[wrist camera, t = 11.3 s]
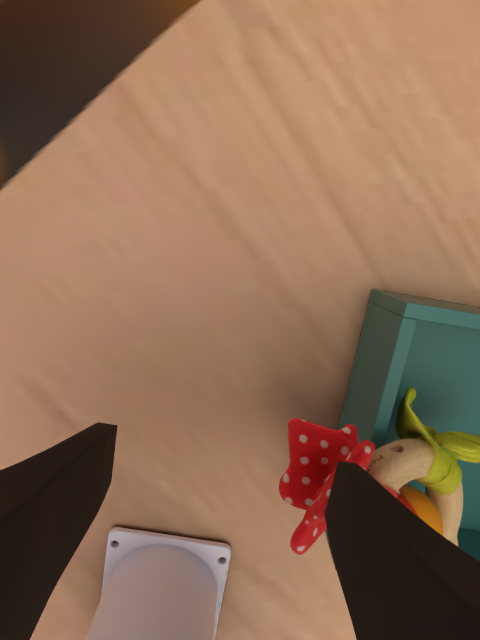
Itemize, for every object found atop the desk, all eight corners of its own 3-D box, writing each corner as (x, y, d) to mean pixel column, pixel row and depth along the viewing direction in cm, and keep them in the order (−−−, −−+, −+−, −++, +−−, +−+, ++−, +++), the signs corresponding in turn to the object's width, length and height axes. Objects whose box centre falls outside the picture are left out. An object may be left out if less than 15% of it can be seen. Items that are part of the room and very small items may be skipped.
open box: (504, 537, 24) (564, 605, 20) (317, 508, 24) (335, 571, 20) (582, 324, 22) (675, 347, 17) (371, 288, 21) (407, 301, 17)
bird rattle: (539, 565, 18) (537, 384, 16) (392, 765, 12) (365, 514, 10) (414, 501, 23) (403, 359, 21) (271, 618, 17) (240, 437, 15)
